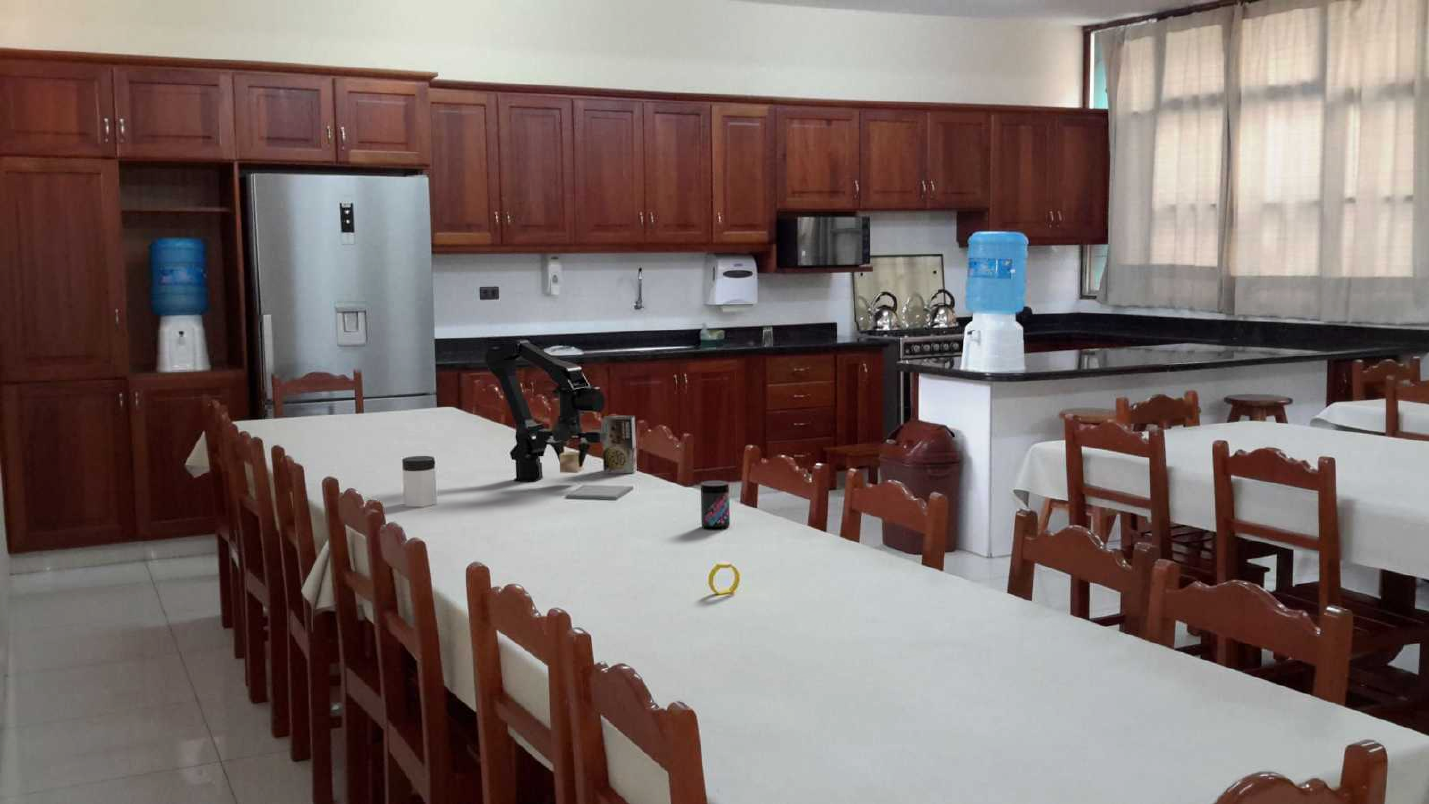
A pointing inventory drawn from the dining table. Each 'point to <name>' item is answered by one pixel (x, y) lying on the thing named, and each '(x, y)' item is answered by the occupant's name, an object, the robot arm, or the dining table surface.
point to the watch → (719, 565)
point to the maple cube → (570, 462)
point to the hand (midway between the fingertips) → (571, 466)
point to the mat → (599, 492)
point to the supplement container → (715, 505)
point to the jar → (419, 481)
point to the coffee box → (619, 444)
